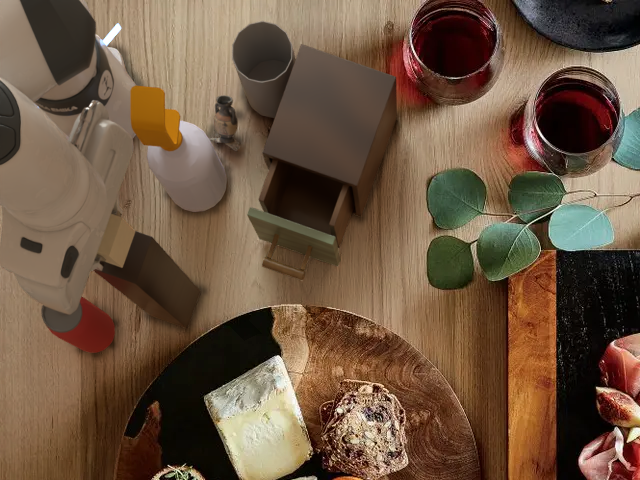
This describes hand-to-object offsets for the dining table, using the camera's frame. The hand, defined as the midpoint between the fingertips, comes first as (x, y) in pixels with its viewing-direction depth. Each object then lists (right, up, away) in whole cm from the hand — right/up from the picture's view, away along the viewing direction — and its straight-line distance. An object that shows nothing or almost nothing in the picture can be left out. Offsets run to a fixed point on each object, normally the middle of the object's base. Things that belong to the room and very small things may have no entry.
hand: (106, 239), depth 94 cm
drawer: (+21, +12, +27) cm, 36 cm away
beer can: (-11, -4, +29) cm, 31 cm away
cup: (+15, +32, +28) cm, 45 cm away
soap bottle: (+4, +18, +29) cm, 34 cm away
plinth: (+1, 0, +28) cm, 28 cm away
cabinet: (+25, +22, +28) cm, 43 cm away
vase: (+9, +26, +29) cm, 39 cm away
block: (0, 0, +1) cm, 1 cm away
